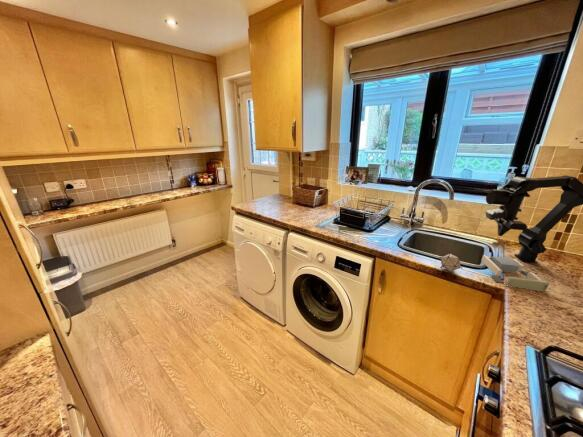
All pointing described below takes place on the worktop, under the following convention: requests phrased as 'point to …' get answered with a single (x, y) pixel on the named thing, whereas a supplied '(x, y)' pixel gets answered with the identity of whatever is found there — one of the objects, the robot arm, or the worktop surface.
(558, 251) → the worktop surface
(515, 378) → the worktop surface
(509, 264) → the slate block
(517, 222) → the robot arm
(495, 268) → the trap lane
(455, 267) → the game die
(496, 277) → the block
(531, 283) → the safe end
